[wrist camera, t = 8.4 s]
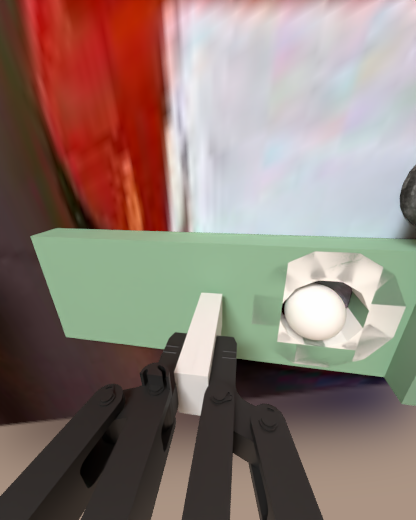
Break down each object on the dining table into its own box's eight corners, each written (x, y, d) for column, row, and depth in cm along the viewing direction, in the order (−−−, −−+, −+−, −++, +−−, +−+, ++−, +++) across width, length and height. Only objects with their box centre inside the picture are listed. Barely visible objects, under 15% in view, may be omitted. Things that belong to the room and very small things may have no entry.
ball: (279, 343, 15) (343, 361, 14) (286, 294, 14) (360, 308, 12) (282, 312, 19) (334, 324, 17) (289, 270, 17) (346, 279, 16)
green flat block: (84, 320, 23) (48, 353, 19) (56, 228, 19) (3, 244, 15) (377, 352, 18) (415, 405, 14) (421, 239, 14) (491, 268, 10)
